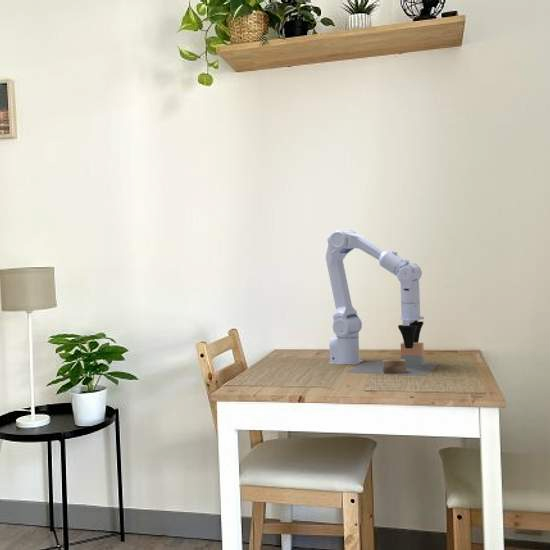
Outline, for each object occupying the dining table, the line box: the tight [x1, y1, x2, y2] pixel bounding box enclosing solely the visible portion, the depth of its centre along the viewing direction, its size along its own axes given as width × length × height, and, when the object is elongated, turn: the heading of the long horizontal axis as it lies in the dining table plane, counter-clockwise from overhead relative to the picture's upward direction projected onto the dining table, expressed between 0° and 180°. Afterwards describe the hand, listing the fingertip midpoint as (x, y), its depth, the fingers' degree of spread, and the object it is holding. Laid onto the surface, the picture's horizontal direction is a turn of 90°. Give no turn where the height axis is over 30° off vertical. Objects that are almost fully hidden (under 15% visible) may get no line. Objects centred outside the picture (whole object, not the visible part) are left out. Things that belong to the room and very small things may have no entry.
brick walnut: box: [382, 358, 406, 375], centre depth 185 cm, size 6×3×4 cm, turn 86°
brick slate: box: [400, 354, 425, 367], centre depth 194 cm, size 6×3×4 cm, turn 66°
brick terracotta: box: [400, 341, 425, 356], centre depth 194 cm, size 6×3×4 cm, turn 65°
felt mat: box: [346, 360, 439, 377], centre depth 193 cm, size 24×20×1 cm
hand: (411, 346), depth 194 cm, fingers open, 7 cm apart
